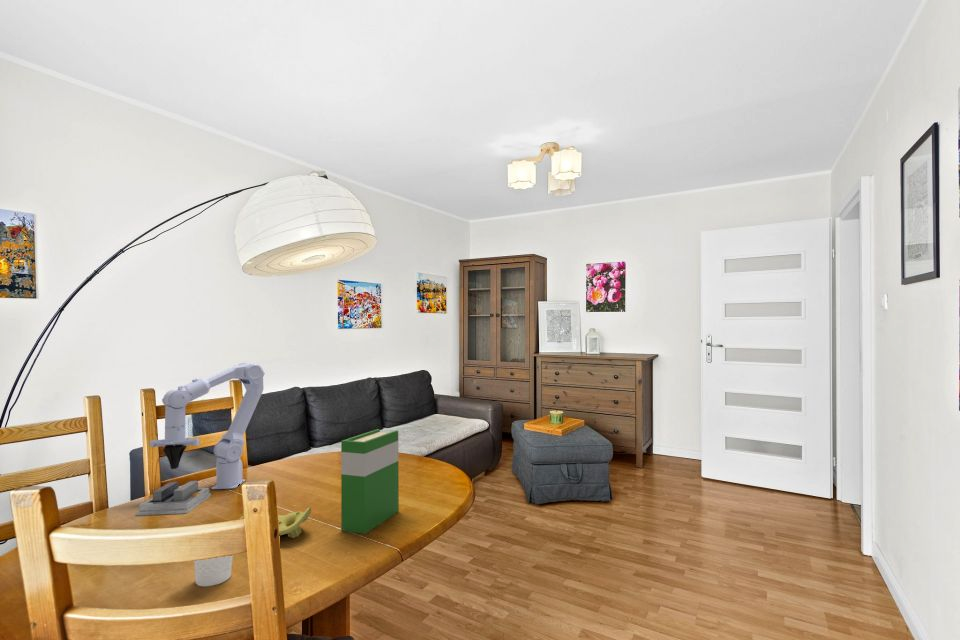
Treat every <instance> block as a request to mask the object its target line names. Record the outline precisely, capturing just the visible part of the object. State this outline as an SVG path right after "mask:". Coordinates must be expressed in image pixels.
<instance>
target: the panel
mask: <svg viewBox="0 0 960 640" xmlns="http://www.w3.org/2000/svg"><path fill="white" fill-rule="evenodd" d="M198 488H199V481H198V480H190V481H188V482H186V483H185V484H183V485H181V486H180V487H179V488H178V489H176V490H174V501H185V500H187V499H188V498H190V497H191V495H192V494H194V493H196V492H198Z"/></svg>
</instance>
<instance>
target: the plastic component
mask: <svg viewBox="0 0 960 640" xmlns="http://www.w3.org/2000/svg"><path fill="white" fill-rule="evenodd" d="M311 513H312V508H310V507H307V508H306V510H305V511H304V512H303V511H300V510H299V511H293V512H289V513H287V514H285V515H278V514H277V515H278V520H279V534H280V535H279V536H282V535H286V534H287V535H288V538H289V537H291V538H292V539H295V538H297V537H299V536H300V535H301V533H302V532H303V531H302V528H301V525H302V524H303V523H304V522H306V521H307V520H308V518H309V517H310V516H311ZM242 518H243V515H241V517H239V519H242Z"/></svg>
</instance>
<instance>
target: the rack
mask: <svg viewBox="0 0 960 640" xmlns="http://www.w3.org/2000/svg"><path fill="white" fill-rule="evenodd" d="M179 486H180V485H179V481H170V482H168V483H166V484H164V485H163V486H161V487H158V488H157V489H155V490H153V491H152V497H150V498H149V499H146V500H145V501H143V502H141V503H139V506H138V507H139V510H138V511H137V512H136V516H137V517H138V516H139V517H141V516H156V515H157V516H159V515H181V514H182V515H183V514H189V512H191V511H192V510H194V509H195V508H197V507H198V506H199V505H200V504H202V503H203V502H205V501H206V500H208V499H209V498H210V497H211V496H212V493H211V492H210V487H198V492H196V493H194V494H192V495H191V497H190V498H188V499H187V500H185V501H174V490H176V489H178V488H179Z"/></svg>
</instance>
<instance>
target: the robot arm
mask: <svg viewBox="0 0 960 640" xmlns="http://www.w3.org/2000/svg"><path fill="white" fill-rule="evenodd" d="M264 375H265V372H264V369H263V368H262V366H261V365H260V364H259V363H247V362H240V363H239V364H237V365H233V366H230V367H229V368H227V369H225V370H223V371H221V372H219V373H216V374H215V375H213V376H210V377H208V378H207V379H204V378H193V379H192V380H191V382H189V383H187V384H184V385H178V386H177V389H171V390H168V391H167V392H166V393H165V394H164V395H163V398H161V401H162V403H163V405H164V407H165V408H164V409H165V411H164V412H165V413H164V439H154V440H151V441H149V448H154V447H164V448H162V451H163V453H164V454H165V455H166V458H167V460H168V463H169V466H170V470H174V469H178V468H179V467H180V462H181V458H182V456H183V454H184V452H185V451H186V449H187V446H194V447H196V446H199V445H200V443H201V442H200V438H189V437H188V438H187V437H186V406H187V405H188V404H189V403H190V402H192V401H194V400H197V399H199V398H201V397H202V396H205V395H207V394H208V393H209V392H210V390H211V388H213V387H216V386H219V385H220V384H223V383H225V382H228V381H230V380H233V379H234V380H238V381H239V382H241V383H242V384H243V386H244V388H245V393H244V395H243V397H242V399H241V401H240V403H239V405H238V408H237V410H236V412H235V415H234V417H233V419H232V421H231V424H230V426H229V428H228V429H227V431H226V432H225V433H224V434H223V435H222V436H221V438H220V440H219V441H218V442H217V443H216V444H215V445H214V447H213V454H214V455H215V457H216V478H215V479H216V482H215V483H216V484H215V485H213V486H212V487H211V490H227V489H229V490H231V489H236V488H238V487H239V486H240V485H241V484H243V483H244V482H246V479H244V478H243V462H242V459H240V458H241V456H242V455H243V453H244V450H243V447H244V444H245V439H244V438H245V437H244V434H245V432H246V430H247V428H248V426H249V424H250V421H251V419H252V416H253V414H254V412H255V410H256V408H257V406H258V403H259V402H260V399H261V396H262V394H263V391H264ZM242 481H243V482H242ZM239 484H240V485H239ZM238 485H239V486H238Z"/></svg>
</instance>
